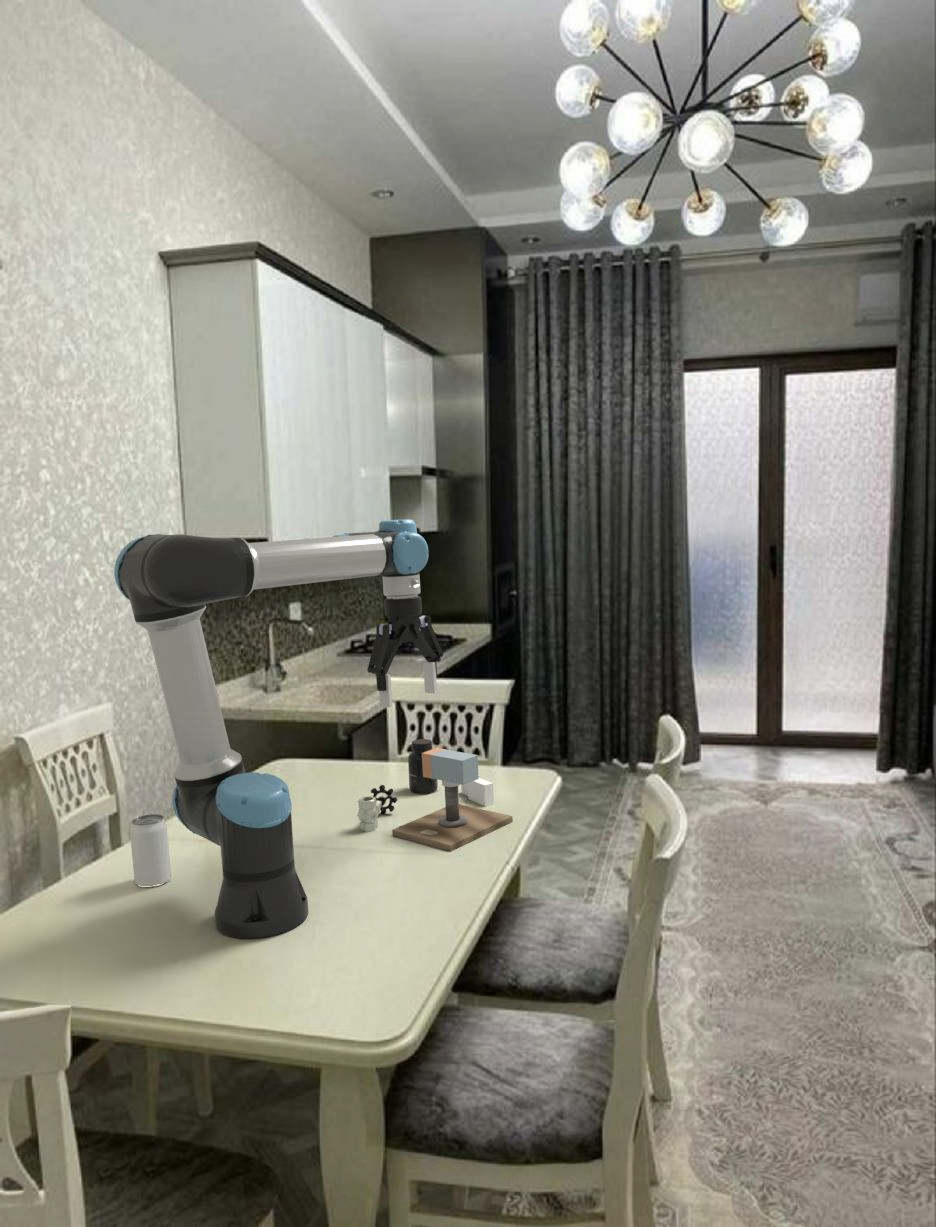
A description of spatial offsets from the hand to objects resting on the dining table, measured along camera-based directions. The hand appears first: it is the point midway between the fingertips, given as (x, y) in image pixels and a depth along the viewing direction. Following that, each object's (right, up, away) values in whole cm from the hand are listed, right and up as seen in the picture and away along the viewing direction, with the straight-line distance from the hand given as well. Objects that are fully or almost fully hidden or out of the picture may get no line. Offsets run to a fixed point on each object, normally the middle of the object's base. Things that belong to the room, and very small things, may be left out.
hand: (409, 699), depth 187 cm
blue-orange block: (+8, -18, +3) cm, 20 cm away
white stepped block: (+15, -26, +24) cm, 38 cm away
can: (-46, -32, -17) cm, 59 cm away
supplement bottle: (+2, -25, +31) cm, 40 cm away
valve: (-8, -28, +10) cm, 31 cm away
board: (+9, -27, +4) cm, 29 cm away
